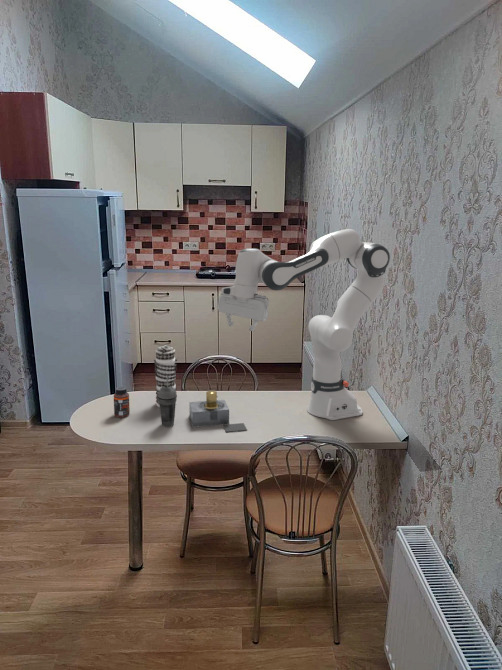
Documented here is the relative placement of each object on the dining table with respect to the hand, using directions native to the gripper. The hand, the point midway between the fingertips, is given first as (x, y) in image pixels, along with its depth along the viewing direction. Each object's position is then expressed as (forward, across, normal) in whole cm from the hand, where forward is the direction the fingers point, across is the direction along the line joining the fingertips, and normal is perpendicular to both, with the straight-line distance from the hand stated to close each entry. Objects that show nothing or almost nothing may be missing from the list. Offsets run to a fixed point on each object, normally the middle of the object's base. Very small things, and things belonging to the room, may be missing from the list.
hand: (240, 328), depth 197 cm
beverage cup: (+40, +18, +16) cm, 46 cm away
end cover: (+36, +6, +4) cm, 36 cm away
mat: (+37, -6, +6) cm, 38 cm away
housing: (+38, +7, +5) cm, 39 cm away
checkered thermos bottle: (+39, +31, +1) cm, 50 cm away
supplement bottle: (+41, +38, +19) cm, 59 cm away
